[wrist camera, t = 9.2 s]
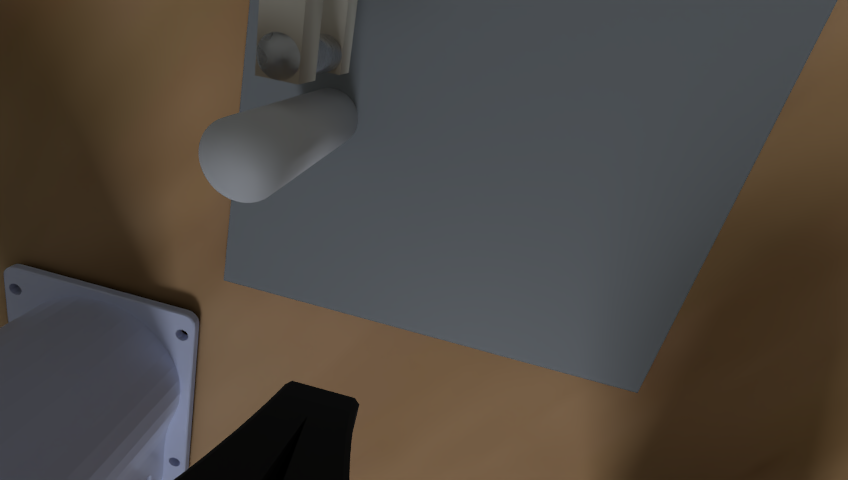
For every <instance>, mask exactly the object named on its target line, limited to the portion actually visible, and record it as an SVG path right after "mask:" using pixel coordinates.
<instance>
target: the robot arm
mask: <svg viewBox="0 0 848 480" xmlns="http://www.w3.org/2000/svg"><path fill="white" fill-rule="evenodd" d="M4 283H5V293H6V303H7V313H8V324H6V325H4V326H2V327H1V328H0V480H349V470H350V452H351V440H352V432H353V428H354V424H355V420H356V416H357V412H358V407H359V404H358V402H357V401H356V399H355V398H352V397H349V396H345V395H342V394H338V393H334V392H331V391H327V390H323V389H320V388H316V387H313V386H309V385H305V384H302V383H298V382H294V381H291V382H289V383H287V384H285V385H284V386H283V387H282V388H281V389H280V390H279V391H278V392H277V393H276V394H275V395H274V396H273V397H272V398H271V399H270V400H269V401H268V402H267V403H266V404H265V405H264V406H263V407H261V408H260V409H259V410H258V411H257V412H256V413H255V414H254V415H253V416H252V417H250V418H249V419H248V420H247V421H246V422H245V423H244V424H242V425H241V426H240V427H239V428H238V429H237V430H236V431H234V432H233V433H232V434H231V435H230V436H228V437H227V438H226V439H225V440H224V441H222V442H221V443H220V444H219V445H217V446H216V447H215V448H214V449H213V450H211V451H210V452H209V453H208V454H207V455H205V456H204V457H203V458H202V459H200V460H199V461H198V462H197V463H195V464H194V465H193V466H191V467H190V468H189V469H188V467H189V454H190V441H191V427H192V414H193V400H194V387H195V374H196V360H197V347H198V333H199V319H198V317H197V316H196V315H195V314H194V313H193V312H192V311H189V310H187V309H183V308H179V307H176V306H172V305H168V304H165V303H161V302H158V301H154V300H150V299H147V298H143V297H139V296H136V295H132V294H128V293H125V292H121V291H117V290H114V289H110V288H106V287H103V286H99V285H95V284H92V283H88V282H85V281H81V280H77V279H74V278H70V277H66V276H63V275H59V274H55V273H52V272H48V271H44V270H41V269H37V268H33V267H30V266H26V265H22V264H14V265H12V266H10V267H8V268H6V269H5V271H4ZM182 330H184V331H186V333H187V334H188V335H185V334H184V333H183V332H182Z"/></svg>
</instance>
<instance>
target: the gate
mask: <svg viewBox="0 0 848 480" xmlns="http://www.w3.org/2000/svg"><path fill="white" fill-rule="evenodd" d="M357 2H358V0H259V12H258V29H257V47H256V65H255V76H260V77H265V78H270V79H274V80H279V81H284V82H288V83H293V84H298V85H299V84H303V83H307V82H312V81H315V78H316V74H318V73H323V72H328V73H333V74H337V75H342V74H346V73H349V65H350V57H351V49H352V41H353V33H354V25H355V18H356V10H357Z"/></svg>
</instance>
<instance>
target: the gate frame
mask: <svg viewBox="0 0 848 480" xmlns="http://www.w3.org/2000/svg"><path fill="white" fill-rule="evenodd" d="M836 2H837V0H358V2H357V10H356V18H355V25H354V33H353V41H352V49H351V57H350V65H349V73H346V74H342V75H337V74H333V73H328V72H323V73H318V74H316V78H315V81H312V82H307V83H303V84H299V85H298V84H293V83H288V82H284V81H279V80H274V79H270V78H265V77H260V76H255V65H256V47H257V29H258V12H259V0H250V6H249V16H248V27H247V38H246V48H245V59H244V70H243V81H242V91H241V102H240V113H237V114H234V115H230V116H227V117H223V118H221V119H218V120H216V121H215V122H213V123H212V124H211V125H210V126H209V127H208V128H207V129H206V130H205V132H204V133H203V135H202V138H201V140H200V144H199V161H200V165H201V168H202V171H203V173H204V175H205V177H206V178H207V180H208V181H209V183H210V184H211V185H212V186H213V187H214V188H215V189H216V190H217V191H218V192H219V193H221V194H222V195H224V196H225V197H227V198H229V199H231V209H230V220H229V230H228V241H227V252H226V263H225V273H224V280H225V281H228V282H232V283H236V284H239V285H243V286H247V287H250V288H254V289H258V290H262V291H265V292H269V293H273V294H276V295H280V296H284V297H287V298H291V299H295V300H298V301H302V302H306V303H309V304H313V305H317V306H320V307H324V308H328V309H331V310H335V311H339V312H342V313H346V314H350V315H353V316H357V317H361V318H364V319H368V320H372V321H375V322H379V323H383V324H386V325H390V326H394V327H397V328H401V329H405V330H408V331H412V332H416V333H419V334H423V335H427V336H430V337H434V338H438V339H441V340H445V341H449V342H452V343H456V344H460V345H463V346H467V347H471V348H474V349H478V350H482V351H485V352H489V353H493V354H496V355H500V356H504V357H507V358H511V359H515V360H518V361H522V362H526V363H529V364H533V365H537V366H540V367H544V368H548V369H551V370H555V371H559V372H562V373H566V374H570V375H573V376H577V377H581V378H584V379H588V380H592V381H595V382H599V383H603V384H607V385H610V386H614V387H618V388H621V389H625V390H629V391H632V392H636V393H638V391H639V389H640V387H641V385H642V383H643V381H644V379H645V377H646V375H647V373H648V371H649V369H650V367H651V365H652V363H653V361H654V359H655V357H656V355H657V353H658V352H659V350H660V348H661V346H662V344H663V342H664V340H665V338H666V336H667V334H668V332H669V330H670V328H671V326H672V324H673V322H674V320H675V318H676V316H677V314H678V312H679V310H680V308H681V306H682V304H683V302H684V300H685V299H686V297H687V295H688V293H689V291H690V289H691V287H692V285H693V283H694V281H695V279H696V277H697V275H698V273H699V271H700V269H701V267H702V265H703V263H704V261H705V259H706V257H707V255H708V253H709V251H710V249H711V247H712V245H713V244H714V242H715V240H716V238H717V236H718V234H719V232H720V230H721V228H722V226H723V224H724V222H725V220H726V218H727V216H728V214H729V212H730V210H731V208H732V206H733V204H734V202H735V200H736V198H737V196H738V194H739V192H740V190H741V189H742V187H743V185H744V183H745V181H746V179H747V177H748V175H749V173H750V171H751V169H752V167H753V165H754V163H755V161H756V159H757V157H758V155H759V153H760V151H761V149H762V147H763V145H764V143H765V141H766V139H767V137H768V135H769V134H770V132H771V130H772V128H773V126H774V124H775V122H776V120H777V118H778V116H779V114H780V112H781V110H782V108H783V106H784V104H785V102H786V100H787V98H788V96H789V94H790V92H791V90H792V88H793V86H794V84H795V82H796V80H797V79H798V77H799V75H800V73H801V71H802V69H803V67H804V65H805V63H806V61H807V59H808V57H809V55H810V53H811V51H812V49H813V47H814V45H815V43H816V41H817V39H818V37H819V35H820V33H821V31H822V29H823V27H824V26H825V24H826V22H827V20H828V18H829V16H830V14H831V12H832V10H833V8H834V6H835V4H836Z"/></svg>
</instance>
